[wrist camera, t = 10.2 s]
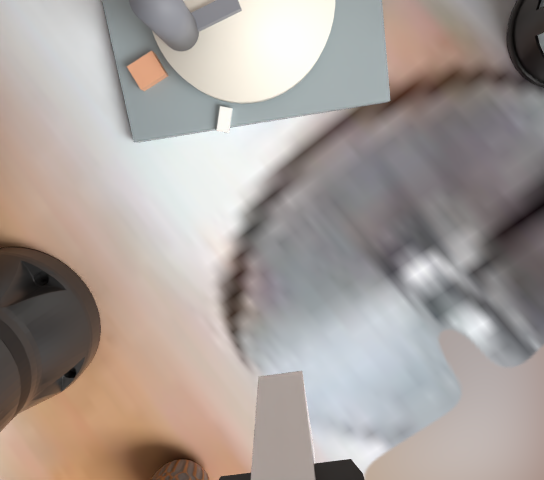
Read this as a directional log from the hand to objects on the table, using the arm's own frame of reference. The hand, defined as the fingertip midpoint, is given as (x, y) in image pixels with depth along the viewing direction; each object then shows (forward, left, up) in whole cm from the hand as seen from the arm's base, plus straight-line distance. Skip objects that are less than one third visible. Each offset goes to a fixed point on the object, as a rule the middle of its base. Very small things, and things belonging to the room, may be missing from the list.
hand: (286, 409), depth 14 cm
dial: (0, +19, -23) cm, 30 cm away
